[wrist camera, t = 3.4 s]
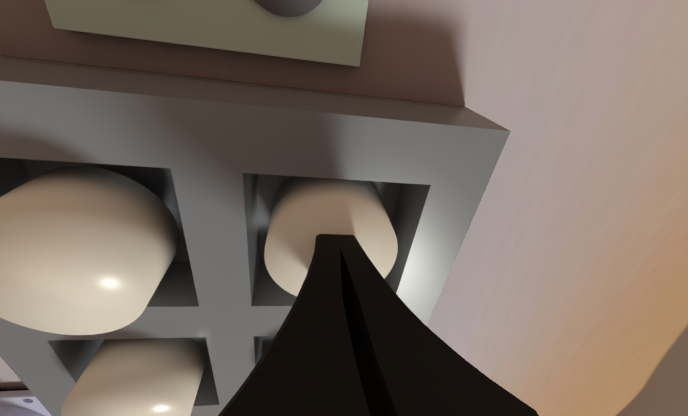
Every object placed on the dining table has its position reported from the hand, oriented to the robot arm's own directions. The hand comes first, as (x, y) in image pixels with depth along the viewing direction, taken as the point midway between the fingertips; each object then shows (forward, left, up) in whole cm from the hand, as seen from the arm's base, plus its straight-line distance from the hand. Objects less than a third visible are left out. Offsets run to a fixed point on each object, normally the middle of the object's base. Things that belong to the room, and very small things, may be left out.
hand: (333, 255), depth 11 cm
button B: (-8, 0, -1) cm, 8 cm away
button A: (0, 0, -3) cm, 3 cm away
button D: (-8, -8, -1) cm, 11 cm away
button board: (-4, -4, -3) cm, 6 cm away
